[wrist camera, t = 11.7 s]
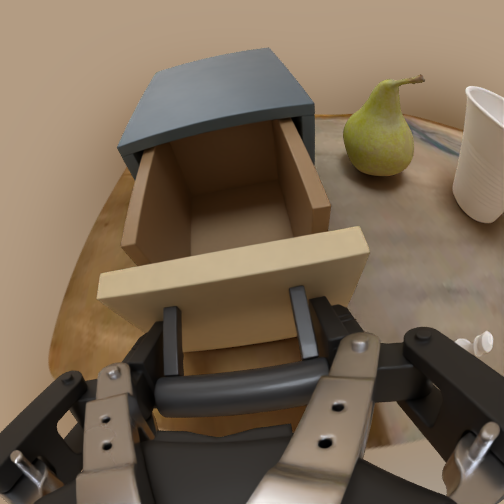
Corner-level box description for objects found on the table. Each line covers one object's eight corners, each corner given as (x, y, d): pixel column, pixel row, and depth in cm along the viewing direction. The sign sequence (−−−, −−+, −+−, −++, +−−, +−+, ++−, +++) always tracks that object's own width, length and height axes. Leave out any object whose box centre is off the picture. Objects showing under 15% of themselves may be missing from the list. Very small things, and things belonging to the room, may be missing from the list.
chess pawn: (449, 338, 15) (478, 319, 12) (469, 339, 14) (499, 319, 11) (448, 374, 14) (479, 361, 10) (469, 373, 13) (501, 360, 10)
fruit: (379, 144, 27) (392, 46, 17) (421, 187, 23) (453, 78, 13) (329, 154, 26) (331, 45, 16) (368, 204, 22) (391, 75, 12)
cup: (418, 176, 23) (444, 81, 14) (471, 165, 24) (497, 90, 14) (474, 254, 18) (535, 160, 9) (520, 228, 18) (565, 153, 9)
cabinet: (312, 221, 22) (314, 103, 13) (175, 247, 23) (116, 147, 14) (279, 129, 30) (269, 47, 21) (183, 148, 31) (155, 72, 22)
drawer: (352, 394, 14) (410, 375, 6) (181, 417, 14) (89, 410, 7) (294, 180, 24) (288, 90, 16) (180, 202, 24) (143, 122, 17)
